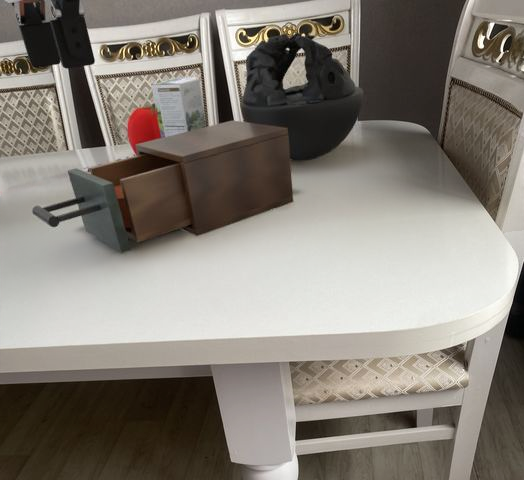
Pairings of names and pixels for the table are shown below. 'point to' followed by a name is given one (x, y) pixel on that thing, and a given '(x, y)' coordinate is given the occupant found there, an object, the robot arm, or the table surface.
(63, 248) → the table surface
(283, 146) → the cabinet
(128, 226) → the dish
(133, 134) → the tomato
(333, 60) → the black sculpted bowl
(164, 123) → the syrup box
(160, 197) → the drawer
